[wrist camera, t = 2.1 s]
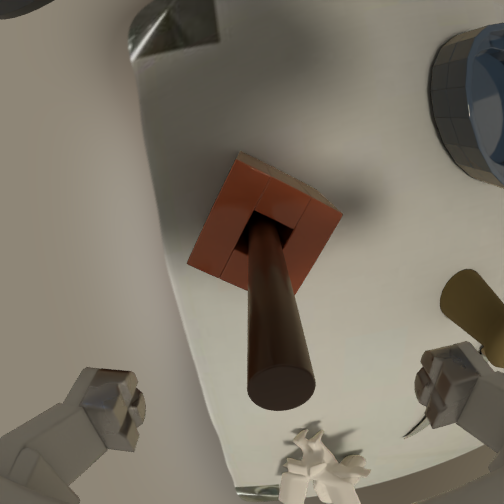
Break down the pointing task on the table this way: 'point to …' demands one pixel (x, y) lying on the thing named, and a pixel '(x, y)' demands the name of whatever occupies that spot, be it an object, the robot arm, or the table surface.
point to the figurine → (321, 474)
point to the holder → (273, 206)
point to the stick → (274, 325)
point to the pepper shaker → (476, 312)
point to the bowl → (472, 101)
